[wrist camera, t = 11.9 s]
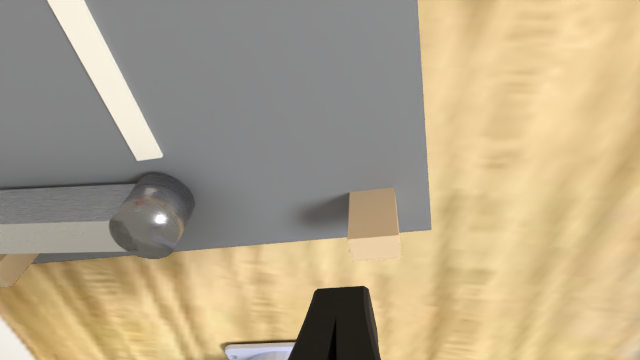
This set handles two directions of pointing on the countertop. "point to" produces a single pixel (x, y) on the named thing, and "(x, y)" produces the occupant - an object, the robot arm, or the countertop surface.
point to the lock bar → (97, 218)
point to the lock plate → (223, 114)
